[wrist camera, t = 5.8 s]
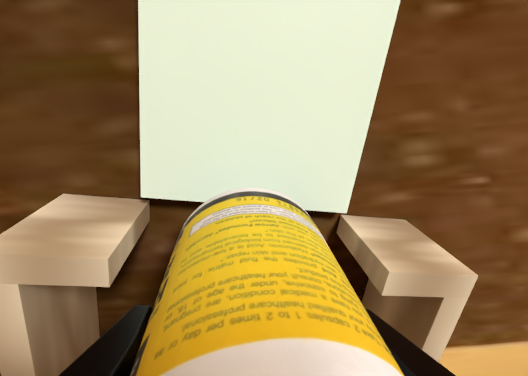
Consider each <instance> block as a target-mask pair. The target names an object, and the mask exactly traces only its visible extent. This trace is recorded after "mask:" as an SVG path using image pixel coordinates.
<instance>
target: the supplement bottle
mask: <svg viewBox="0 0 528 376" xmlns="http://www.w3.org/2000/svg"><path fill="white" fill-rule="evenodd" d="M130 376H404V374H403V373H402V371H401V369H400V368H399V366H398V364H397V362H396V361H395V359H394V357H393V356H392V354H391V352H390V351H389V349H388V347H387V346H386V344H385V342H384V340H383V339H382V337H381V335H380V334H379V332H378V330H377V329H376V327H375V325H374V323H373V322H372V320H371V318H370V317H369V315H368V313H367V312H366V310H365V308H364V306H363V305H362V303H361V301H360V300H359V298H358V296H357V295H356V293H355V291H354V289H353V288H352V286H351V284H350V283H349V281H348V279H347V277H346V275H345V274H344V272H343V270H342V269H341V267H340V265H339V264H338V262H337V260H336V259H335V257H334V255H333V253H332V252H331V250H330V248H329V246H328V245H327V243H326V241H325V240H324V238H323V236H322V235H321V233H320V231H319V230H318V228H317V226H316V225H315V223H314V222H313V220H312V219H311V217H310V216H309V214H308V213H307V212H306V211H305V210H304V209H303V208H302V207H301V206H300V205H299V204H298V203H297V202H295V201H294V200H293V199H291V198H289V197H288V196H286V195H284V194H281V193H279V192H276V191H273V190H269V189H264V188H254V187H250V188H239V189H234V190H230V191H227V192H224V193H221V194H219V195H216V196H214V197H213V198H211V199H209V200H207V201H206V202H204V203H203V204H202V205H201V206H199V207H198V208H197V209H196V210H195V211H194V212H193V213H192V214H191V215H190V217H189V218H188V219H187V221H186V222H185V224H184V226H183V228H182V230H181V232H180V234H179V236H178V239H177V242H176V244H175V247H174V249H173V253H172V256H171V258H170V261H169V264H168V267H167V269H166V272H165V275H164V279H163V282H162V285H161V287H160V290H159V292H158V295H157V298H156V301H155V304H154V307H153V310H152V313H151V316H150V319H149V321H148V324H147V327H146V330H145V333H144V336H143V339H142V342H141V345H140V348H139V351H138V353H137V356H136V359H135V361H134V364H133V366H132V370H131V373H130Z"/></svg>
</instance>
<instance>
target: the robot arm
mask: <svg viewBox="0 0 528 376" xmlns="http://www.w3.org/2000/svg"><path fill="white" fill-rule="evenodd" d="M152 310H153V307H152V306H151V305H135V306H134V307H133V308H131V309H130V310H129V311H128V312H127V313H126V314H125V315H124V316H123V317H122V318H121V319H119V320H118V321H117V322H116V323H115V324H114V325H113V326H112V327H111V328H110V329H108V330H107V331H106V332H105V333H104V334H103V335H102V336H101V337H100V338H99V339H98V340H96V341H95V342H94V343H93V344H92V345H91V346H90V347H89V348H88V349H87V350H86V351H84V352H83V353H82V354H81V355H80V356H79V357H78V358H77V359H76V360H75V361H74V362H72V363H71V364H70V365H69V366H68V367H67V368H66V369H65V370H64V371H63V372H61V373H60V374H59V375H58V376H130V373H131V370H132V366H133V364H134V361H135V359H136V356H137V353H138V351H139V348H140V345H141V342H142V339H143V336H144V333H145V330H146V327H147V324H148V321H149V319H150V316H151V313H152ZM365 310H366V312H367V313H368V315H369V317H370V318H371V320H372V322H373V323H374V325H375V327H376V329H377V330H378V332H379V334H380V335H381V337H382V339H383V340H384V342H385V344H386V346H387V347H388V349H389V351H390V352H391V354H392V356H393V357H394V359H395V361H396V362H397V364H398V366H399V368H400V369H401V371H402V373H403V374H404V376H455V375H454V374H453V373H451V372H450V371H449V370H448V369H446V368H445V367H444V366H442V365H441V364H440V363H438V362H437V361H436V360H434V359H433V358H432V357H431V356H429V355H428V354H427V353H425V352H424V351H423V350H421V349H420V348H419V347H418V346H416V345H415V344H414V343H412V342H411V341H410V340H408V339H407V338H406V337H405V336H403V335H402V334H401V333H399V332H398V331H397V330H395V329H394V328H393V327H392V326H390V325H389V324H388V323H386V322H385V321H384V320H382V319H381V318H380V317H379V316H377V315H376V314H375V313H373V312H372V311H371V310H369V309H366V308H365Z"/></svg>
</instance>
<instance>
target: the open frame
mask: <svg viewBox="0 0 528 376" xmlns="http://www.w3.org/2000/svg"><path fill="white" fill-rule="evenodd" d="M149 221H150V200H138V199H125V198H112V197H99V196H86V195H72V194H62V195H61V196H59V197H58V198H56V199H54V200H53V201H51V202H50V203H48V204H47V205H45V206H44V207H42V208H40V209H39V210H37V211H36V212H34V213H33V214H31V215H30V216H28V217H27V218H25V219H23V220H22V221H20V222H19V223H17V224H16V225H14V226H13V227H11V228H9V229H8V230H6V231H5V232H3V233H2V234H0V372H1V376H58V375H59V374H60V373H61V372H63V371H64V370H65V369H66V368H67V367H68V366H69V365H70V364H71V363H72V362H74V361H75V360H76V359H77V358H78V357H79V356H80V355H81V354H82V353H83V352H84V351H86V350H87V349H88V348H89V347H90V346H91V345H92V344H93V343H94V342H95V341H96V340H98V339H99V338H100V332H99V319H98V307H97V294H96V287H110V286H111V284H112V282H113V281H114V279H115V277H116V276H117V274H118V272H119V271H120V269H121V267H122V266H123V264H124V262H125V261H126V259H127V257H128V256H129V254H130V252H131V251H132V249H133V247H134V246H135V244H136V242H137V241H138V239H139V237H140V236H141V234H142V232H143V231H144V229H145V227H146V226H147V224H148V222H149ZM336 233H337V235H338V236H339V237H340V239H341V240H342V241H343V243H344V244H345V246H346V247H347V248H348V250H349V251H350V253H351V254H352V255H353V257H354V258H355V259H356V261H357V262H358V264H359V265H360V266H361V268H362V269H363V271H364V272H365V273H366V275H367V276H368V277H369V280H368V283H367V286H366V289H365V293H364V296H363V299H362V302H361V303H362V305H363V306H364V308H366V309H369V310H371V311H372V312H373V313H375V314H376V315H377V316H379V317H380V318H381V319H382V320H384V321H385V322H386V323H388V324H389V325H390V326H392V327H393V328H394V329H395V330H397V331H398V332H399V333H401V334H402V335H403V336H405V337H406V338H407V339H408V340H410V341H411V342H412V343H414V344H415V345H416V346H418V347H419V348H420V349H421V350H423V351H424V352H425V353H427V354H428V355H429V356H431V357H432V358H433V359H434V360H436V361H437V362H439V360H440V358H441V356H442V354H443V352H444V349H445V347H446V345H447V343H448V341H449V338H450V336H451V334H452V332H453V330H454V328H455V325H456V323H457V321H458V319H459V317H460V315H461V312H462V310H463V308H464V306H465V304H466V302H467V299H468V297H469V295H470V293H471V291H472V289H473V286H474V284H475V282H476V280H477V278H478V275H477V274H475V273H474V272H473V271H472V270H470V269H469V268H468V267H466V266H465V265H464V264H462V263H461V262H460V261H458V260H457V259H456V258H454V257H453V256H452V255H451V254H449V253H448V252H447V251H445V250H444V249H443V248H441V247H440V246H439V245H437V244H436V243H435V242H434V241H432V240H431V239H430V238H428V237H427V236H426V235H424V234H423V233H422V232H420V231H419V230H418V229H417V228H415V227H414V226H413V225H411V224H410V223H409V222H407V221H406V220H401V219H387V218H374V217H361V216H348V215H341V216H340V220H339V224H338V228H337V232H336Z"/></svg>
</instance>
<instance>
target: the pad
mask: <svg viewBox="0 0 528 376" xmlns="http://www.w3.org/2000/svg"><path fill="white" fill-rule="evenodd" d="M399 4H400V0H138V24H139V99H140V174H141V197H143V198H156V199H169V200H182V201H195V202H206V201H207V200H209V199H211V198H213V197H214V196H216V195H219V194H221V193H224V192H227V191H230V190H234V189H239V188H250V187H254V188H264V189H269V190H273V191H276V192H279V193H281V194H284V195H286V196H288V197H289V198H291V199H293V200H294V201H295V202H297V203H298V204H299V205H300V206H301V207H302V208H303V209H304V210H311V211H324V212H337V213H347V210H348V206H349V202H350V198H351V194H352V190H353V186H354V182H355V178H356V174H357V170H358V166H359V162H360V158H361V154H362V150H363V146H364V143H365V139H366V135H367V131H368V127H369V123H370V119H371V115H372V111H373V107H374V103H375V99H376V95H377V91H378V87H379V83H380V79H381V75H382V71H383V67H384V63H385V59H386V55H387V51H388V48H389V44H390V40H391V36H392V32H393V28H394V24H395V20H396V16H397V12H398V8H399Z"/></svg>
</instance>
